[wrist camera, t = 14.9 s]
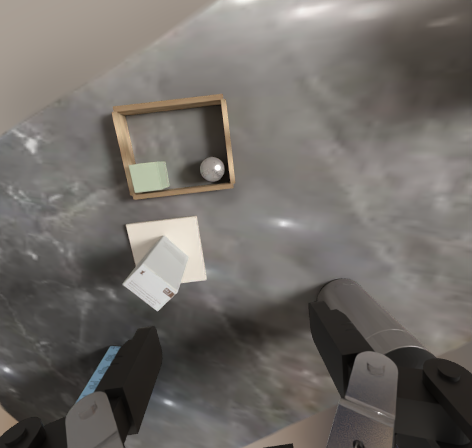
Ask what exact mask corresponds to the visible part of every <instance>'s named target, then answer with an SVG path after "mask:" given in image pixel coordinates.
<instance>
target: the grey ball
mask: <svg viewBox="0 0 472 448" xmlns="http://www.w3.org/2000/svg"><path fill="white" fill-rule="evenodd" d="M224 170H225V167H224V164H223V162H222V161H221V160H220V159H218V158H215V157H208V158H206V159H205V160H204V161H203V162H202V163H201V166H200V172H201V175H202V176H203V178H204V179H206V180H207V181H211V182H214V181H218V180H219V179H220V178H221V177H222V176H223V174H224Z"/></svg>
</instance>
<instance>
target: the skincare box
mask: <svg viewBox="0 0 472 448" xmlns="http://www.w3.org/2000/svg"><path fill="white" fill-rule="evenodd" d="M188 258H189V257H188V256H187V255H186V254H185V253H184V252H182V251H181V250H180V249H179V248H178V247H177V246H176V245H175V244H173V243H172V242H171V241H170V240H169V239H168V238H167V237H166V236H162V237H161V238H160V239H159V240H158V241H157V242H156V243H155V244H154V245H153V246H152V247H151V248H150V249H149V251H148V252H147V253H146V255H145V256H144V257H143V258H142V260H141V261H140V262H139V263H138V265H137V266H136V267H135V268H134V270H133V271H132V272H131V273H130V275H129V276H128V277H127V278H126V280H125V281H124V282H123V285H124V286H125V287H126V288H128V289H129V290H130V291H132V292H133V293H134V294H136V295H137V296H138V297H140V298H141V299H142V300H143V301H145V302H146V303H147V304H149V305H150V306H151V307H152V308H154V309H155V310H156V311H159V310H160V309H161V308H162V307H163V306H164V305H165V304H166V303H167V302H168V301H169V300H170V299H171V298H172V297H173V296H174V295H175V294H176V293H177V292H178V289H179V286H180V283H181V280H182V277H183V273H184V270H185V267H186V264H187V261H188Z"/></svg>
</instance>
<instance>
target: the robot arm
mask: <svg viewBox="0 0 472 448" xmlns="http://www.w3.org/2000/svg"><path fill="white" fill-rule="evenodd" d="M309 317H310V328H311V334H312V338H313V340H314V343H315V345H316V347H317V349H318V351H319V353H320V355H321V357H322V359H323V361H324V363H325V365H326V367H327V369H328V371H329V373H330V375H331V378H332V380H333V382H334V384H335V386H336V388H337V390H338V392H339V394H340V396H341V399H340V401H339V404H338V407H337V411H336V414H335V418H334V422H333V425H332V429H331V432H330V436H329V439H328V443H327V446H326V448H396V444H397V446H398V447H399V448H472V374H471V373H470V372H469V371H468V370H466V369H465V368H464V367H462V366H460V365H458V364H456V363H454V362H451V361H449V360H445V359H439V358H436V357H435V356H434V355H433V354H432V353H431V352H430V351H429V350H427V349H426V348H425V347H424V346H423V345H422V344H421V343H420V342H419V341H418V340H417V339H416V338H415V337H414V336H412V335H411V334H410V333H409V332H408V331H407V330H406V329H405V328H404V327H403V326H402V325H401V324H400V323H399V322H398V321H397V320H396V319H395V318H393V317H392V316H391V315H390V314H389V313H388V312H387V311H386V310H385V309H384V308H383V307H382V306H381V305H380V304H379V303H378V302H377V301H375V300H374V299H373V298H372V297H371V296H370V295H369V294H368V293H367V292H366V291H365V290H364V289H363V288H362V287H361V286H360V285H359V284H357V283H356V282H354V281H352V280H349V279H338V280H334V281H332V282H330V283H328V284H327V285H325V286H324V287H323V288H322V290H321V291H320V293H319V295H318V298H317V302H311V303H309ZM161 364H162V349H161V345H160V342H159V338H158V334H157V330H156V328H155V326H149V327H142V328H138V330H137V331H136V333H135V335H134V337H133V339H132V340H128V341H127V342H126V343H125V344H124V345H123V346H122V347H121V348H120V349H119V350H118V352H117V354H116V355H115V358H114V359H113V360H112V362H111V364H110V366H109V367H108V369H107V370H106V372H105V374H104V375H103V377H102V379H101V380H100V382H99V384H98V385H97V387H96V389H95V391H94V392H93V393H91V394H89V395H87V396H85V397H83V398H82V399H80V400H79V401H78V402H77V403H76V404H75V405H74V406H73V407H72V408H71V409H70V411H69V412H68V414H67V416H66V417H64V418H61V419H59V420H57V421H54V422H52V423H50V424H47V425H45V426H43V424H42V422H41V419H40V418H38V417H31V418H28V419H25V420H23V421H21V422H19V423H17V424H16V425H14V426H13V427H11V428H10V429H9V430H7V431H6V432H5V433H4V434H3V435H2V436H1V437H0V448H125V446H124V442H125V440H126V437H127V435H132V434H138V432H139V429H140V426H141V423H142V420H143V417H144V414H145V411H146V408H147V405H148V402H149V399H150V397H151V394H152V391H153V388H154V385H155V382H156V379H157V376H158V373H159V370H160V367H161ZM266 448H293V444H285V445H279V446H272V447H266Z"/></svg>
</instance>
